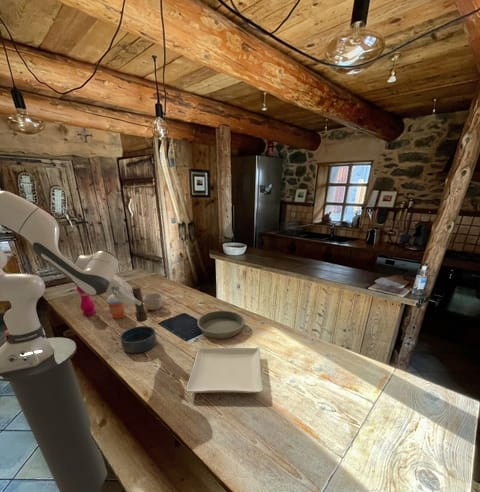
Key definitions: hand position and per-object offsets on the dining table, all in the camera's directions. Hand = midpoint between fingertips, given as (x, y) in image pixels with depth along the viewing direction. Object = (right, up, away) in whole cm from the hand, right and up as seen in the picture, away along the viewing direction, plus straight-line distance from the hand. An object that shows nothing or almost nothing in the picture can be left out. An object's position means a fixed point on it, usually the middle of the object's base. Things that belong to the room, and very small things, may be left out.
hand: (140, 301), depth 120 cm
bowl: (-2, -20, +5) cm, 21 cm away
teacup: (-9, -4, +42) cm, 44 cm away
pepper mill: (-44, -7, +37) cm, 58 cm away
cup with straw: (-25, -8, +33) cm, 42 cm away
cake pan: (+36, -14, +19) cm, 43 cm away
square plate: (+40, -29, -15) cm, 52 cm away
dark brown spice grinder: (0, -8, +3) cm, 9 cm away
